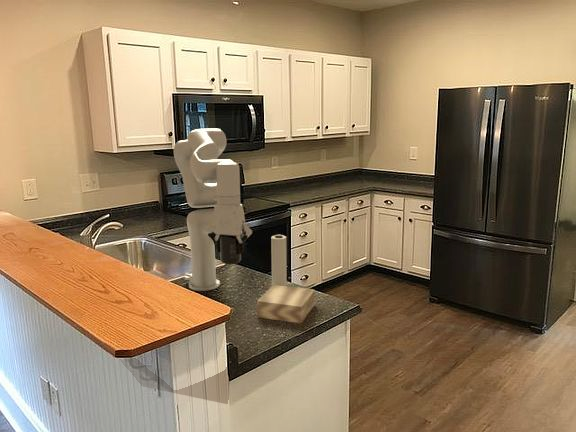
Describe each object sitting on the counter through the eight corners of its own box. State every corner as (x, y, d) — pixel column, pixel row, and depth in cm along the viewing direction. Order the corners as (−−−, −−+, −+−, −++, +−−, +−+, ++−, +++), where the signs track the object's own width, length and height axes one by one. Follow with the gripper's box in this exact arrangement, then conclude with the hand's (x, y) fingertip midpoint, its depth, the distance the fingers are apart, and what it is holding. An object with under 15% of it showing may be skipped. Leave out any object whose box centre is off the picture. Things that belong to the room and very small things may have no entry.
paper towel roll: (281, 291, 184) (281, 239, 179) (268, 288, 187) (268, 237, 182) (290, 285, 190) (290, 235, 185) (278, 283, 193) (277, 233, 188)
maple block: (257, 317, 161) (257, 300, 159) (273, 299, 175) (273, 284, 174) (301, 323, 156) (301, 306, 154) (314, 305, 171) (314, 289, 169)
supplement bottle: (241, 258, 160) (240, 224, 157) (239, 264, 153) (239, 229, 150) (221, 258, 160) (220, 224, 157) (219, 264, 153) (217, 229, 150)
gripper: (199, 200, 151) (201, 253, 155) (248, 204, 145) (249, 258, 149) (210, 196, 158) (212, 247, 162) (257, 199, 152) (258, 251, 156)
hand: (230, 252), depth 156 cm, fingers closed on supplement bottle, 6 cm apart
